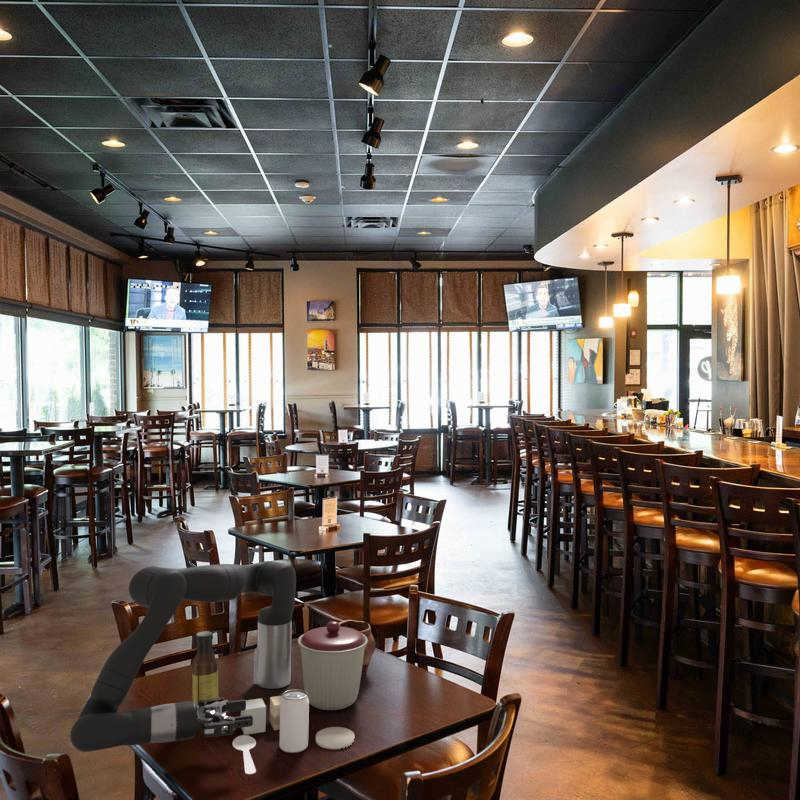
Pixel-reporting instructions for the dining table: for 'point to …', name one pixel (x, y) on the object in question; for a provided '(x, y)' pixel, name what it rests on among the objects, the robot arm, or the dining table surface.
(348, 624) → the decorative planter
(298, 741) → the can
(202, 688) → the sauce bottle
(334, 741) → the cream saucer
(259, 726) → the white rectangular block
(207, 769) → the dining table surface
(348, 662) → the canister
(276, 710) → the beech block
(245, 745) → the spoon
